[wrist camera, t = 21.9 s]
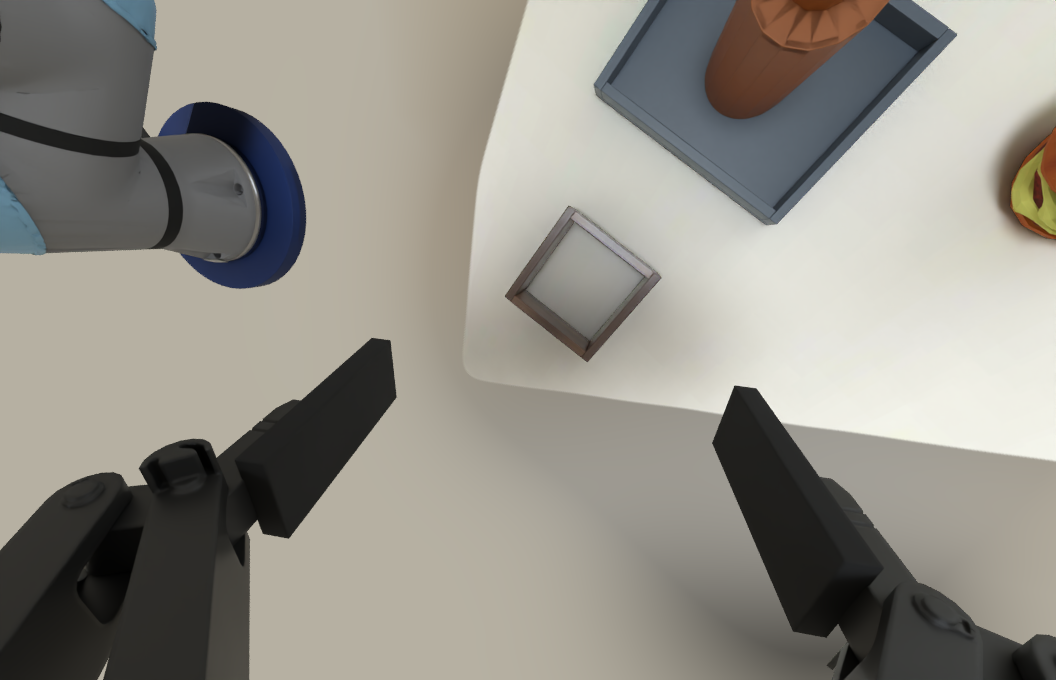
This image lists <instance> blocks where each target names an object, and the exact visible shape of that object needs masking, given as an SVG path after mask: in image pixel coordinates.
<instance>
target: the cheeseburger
mask: <svg viewBox="0 0 1056 680" xmlns="http://www.w3.org/2000/svg"><path fill="white" fill-rule="evenodd" d="M1010 207H1011V208H1012V210H1013V212H1014V213H1015V215H1016V216H1017V218H1018V219H1019V221H1020V222H1021V224H1022V226H1024V227H1026V228H1028V229H1030V230H1032V231H1034V232H1036V233H1038V234H1040V235H1042V236H1044V237H1046V238H1050V239H1056V127H1055V128H1054V129H1053V131H1052V133H1051V134H1050V135H1049V136H1048V137H1047V138H1046V139H1045V140H1044V141H1042V142H1041V143H1040V144H1039V145H1038V146H1037V147H1036V148H1035V149H1034V150H1033V151H1032V152H1031V153H1030V154H1029V155H1028V156H1027V157H1026V158H1025V159H1024V161H1023V163H1022V165H1021V167H1020V168H1019V170H1018V172H1017V174H1016V176H1015V178H1014V179H1013V181H1012V187H1011V201H1010Z"/></svg>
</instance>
